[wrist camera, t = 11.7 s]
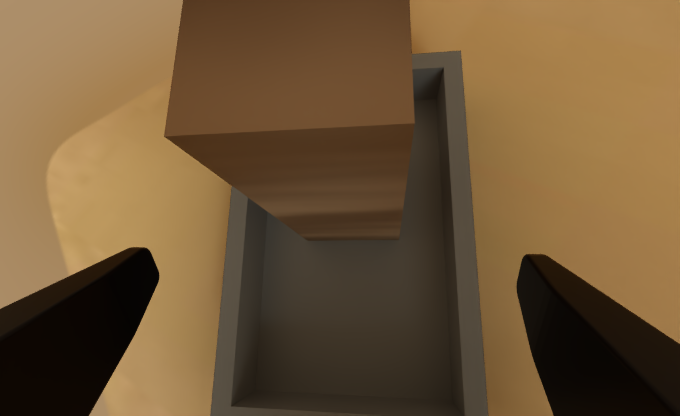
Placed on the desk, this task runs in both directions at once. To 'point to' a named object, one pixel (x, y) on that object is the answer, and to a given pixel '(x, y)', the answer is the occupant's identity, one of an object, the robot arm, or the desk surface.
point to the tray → (363, 293)
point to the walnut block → (300, 108)
